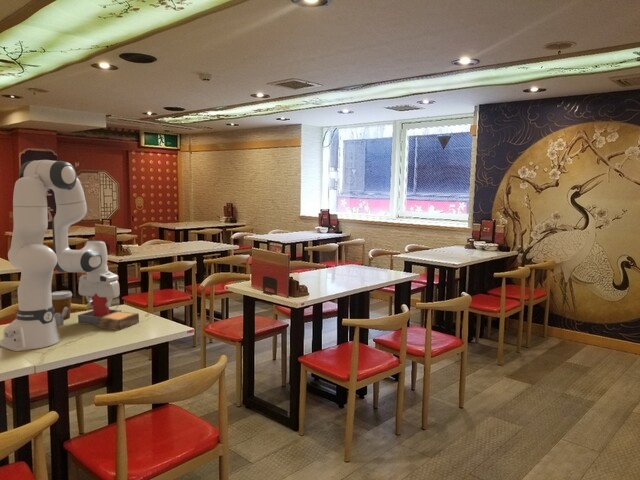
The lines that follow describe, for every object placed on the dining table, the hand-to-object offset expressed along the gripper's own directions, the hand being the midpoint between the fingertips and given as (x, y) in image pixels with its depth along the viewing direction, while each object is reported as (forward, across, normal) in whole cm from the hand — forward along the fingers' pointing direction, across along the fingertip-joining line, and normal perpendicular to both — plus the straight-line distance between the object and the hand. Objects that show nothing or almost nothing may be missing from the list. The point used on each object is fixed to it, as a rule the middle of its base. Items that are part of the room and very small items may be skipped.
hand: (99, 306), depth 216 cm
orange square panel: (+4, +13, -3) cm, 14 cm away
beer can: (+6, 0, +1) cm, 6 cm away
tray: (+6, 0, 0) cm, 6 cm away
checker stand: (+6, +13, -3) cm, 15 cm away
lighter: (+7, -11, -11) cm, 17 cm away
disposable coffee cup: (+7, -19, -3) cm, 20 cm away
